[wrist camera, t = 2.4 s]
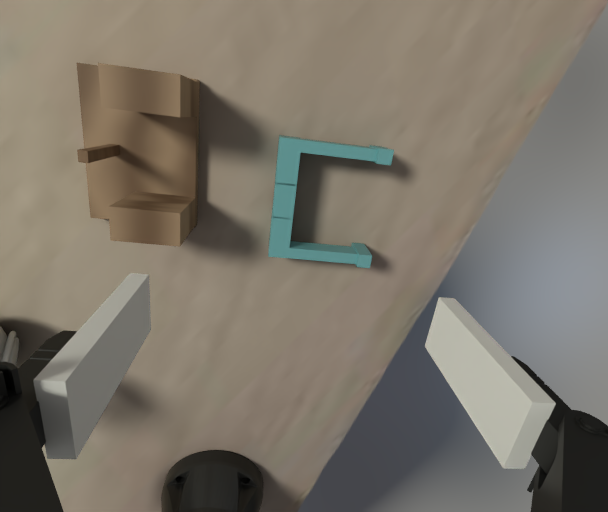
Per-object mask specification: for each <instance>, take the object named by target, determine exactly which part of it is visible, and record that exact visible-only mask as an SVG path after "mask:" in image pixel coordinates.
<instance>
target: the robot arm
mask: <svg viewBox="0 0 608 512" xmlns="http://www.w3.org/2000/svg"><path fill="white" fill-rule="evenodd" d="M150 330H151V320H150V290H149V275H148V274H135V273H130V274H129V275H128V276H127V277H126V278H125V279H124V281H123V282H122V283H121V284H120V285H119V286H118V287H117V288H116V289H115V291H114V292H113V293H112V294H111V295H110V296H109V297H108V298H107V299H106V300H105V302H104V303H103V304H102V305H101V306H100V307H99V308H98V309H97V310H96V311H95V313H94V314H93V315H92V316H91V317H90V318H89V319H88V320H87V321H86V322H85V324H84V325H83V326H82V327H81V328H80V329H79V330H78V331H62V332H60V333H58V334H57V335H55V336H53V337H51V338H49V339H48V340H47V341H46V342H45V343H44V344H43V345H42V346H41V347H40V348H39V349H38V351H36V352H35V353H34V354H33V355H32V356H31V357H30V359H29V360H27V361H26V362H25V363H24V364H23V365H22V366H21V367H20V368H19V369H18V368H17V367H16V366H15V365H14V364H12V363H9V362H5V361H3V362H0V512H63V509H62V506H61V503H60V500H59V497H58V494H57V491H56V488H55V486H54V483H53V480H52V477H51V474H50V471H49V468H48V465H47V463H46V460H45V457H44V454H43V451H42V447H43V445H44V444H45V448H46V453H47V459H77V457H78V455H79V454H80V452H81V450H82V448H83V447H84V445H85V443H86V441H87V440H88V438H89V436H90V434H91V433H92V431H93V429H94V427H95V426H96V424H97V422H98V420H99V419H100V417H101V415H102V414H103V412H104V410H105V408H106V407H107V405H108V403H109V401H110V400H111V398H112V396H113V394H114V393H115V391H116V389H117V387H118V386H119V384H120V382H121V380H122V379H123V377H124V375H125V374H126V372H127V370H128V368H129V367H130V365H131V363H132V361H133V360H134V358H135V356H136V354H137V353H138V351H139V349H140V347H141V346H142V344H143V342H144V340H145V339H146V337H147V335H148V334H149V332H150ZM425 347H426V349H427V351H428V352H429V353H430V355H431V357H432V358H433V360H434V361H435V363H436V365H437V366H438V368H439V369H440V371H441V372H442V374H443V375H444V377H445V379H446V380H447V382H448V383H449V385H450V386H451V388H452V389H453V391H454V393H455V394H456V396H457V397H458V399H459V400H460V402H461V403H462V405H463V407H464V408H465V410H466V411H467V413H468V414H469V416H470V417H471V419H472V420H473V422H474V424H475V425H476V427H477V428H478V430H479V431H480V433H481V434H482V436H483V438H484V439H485V441H486V442H487V444H488V445H489V447H490V448H491V450H492V452H493V453H494V455H495V456H496V458H497V459H498V461H499V462H500V464H501V466H502V467H503V468H510V469H512V468H514V469H525V467H526V465H527V463H528V461H529V459H530V457H531V455H532V456H533V457H534V458H535V460H536V461H537V462H538V464H539V467H538V469H537V471H536V473H535V475H534V477H533V480H532V481H531V484H530V485H529V488H528V489H527V490H528V491H529V492H532V490H533V498H532V507H531V512H608V426H607V425H606V424H604V423H603V422H602V421H600V420H599V419H597V418H595V417H593V416H592V415H590V414H587V413H584V412H581V411H577V410H571V409H570V408H569V407H568V406H567V405H566V404H565V403H564V402H563V401H562V400H561V399H560V398H559V397H558V396H557V395H556V394H555V393H554V392H553V391H552V390H551V389H550V388H549V387H548V386H547V385H545V384H544V382H543V381H542V380H541V379H540V378H539V377H537V375H536V374H535V373H534V372H533V371H532V370H531V369H530V368H529V367H528V366H527V365H526V364H524V363H523V362H521V361H520V360H518V359H517V358H515V357H513V356H510V355H508V353H507V352H506V351H505V350H504V349H503V348H502V347H501V346H500V345H499V344H498V343H497V342H496V341H495V340H494V339H493V338H492V337H491V336H490V335H489V334H488V333H487V332H486V331H485V330H484V329H483V327H481V325H480V324H479V323H478V322H477V321H476V320H475V319H474V318H473V317H472V316H471V315H470V314H469V313H468V312H467V311H466V310H465V309H464V308H463V307H462V306H461V305H460V304H459V303H458V302H457V301H456V300H455V299H454V298H442V297H439V299H438V303H437V306H436V309H435V313H434V316H433V320H432V323H431V327H430V330H429V334H428V337H427V340H426V344H425ZM533 488H534V489H533ZM262 498H263V479H262V476H261V473H260V471H259V470H258V468H257V467H256V466H255V465H254V464H253V463H252V462H251V461H249V460H248V459H246V458H244V457H242V456H240V455H237V454H235V453H231V452H226V451H204V452H199V453H195V454H192V455H189V456H187V457H185V458H183V459H181V460H180V461H179V462H177V463H176V464H175V465H174V466H173V467H172V468H171V469H170V471H169V472H168V474H167V477H166V480H165V483H164V487H163V490H162V497H161V502H162V512H259V509H260V506H261V503H262Z"/></svg>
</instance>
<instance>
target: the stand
mask: <svg viewBox="0 0 608 512" xmlns="http://www.w3.org/2000/svg"><path fill="white" fill-rule="evenodd" d="M77 71H78V82H79V93H80V104H81V115H82V126H83V138H84V149H80V150H77V151H78V162H83V163H86V171H87V182H88V193H89V204H90V215H91V218H100V219H109V224H110V238H111V240H112V241H124V242H135V243H146V244H158V245H169V246H181V244H182V243H183V242H184V240H185V239H186V237H187V236H188V235H189V233H190V232H191V230H192V229H193V228H194V227H196V225H197V199H198V145H199V91H200V81H199V80H196V79H189V78H187V77H185V76H182V75H179V74H172V73H165V72H158V71H151V70H144V69H136V68H129V67H122V66H115V65H108V64H101V63H98V66H97V65H90V64H82V63H77Z"/></svg>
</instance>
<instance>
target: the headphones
mask: <svg viewBox="0 0 608 512" xmlns="http://www.w3.org/2000/svg"><path fill="white" fill-rule="evenodd" d="M18 351H19V339H18V338H16V332H15V331H11V332H10V333H9V335H8V336H7V335H6V333H5V332H4V330H3V329H2V328H1V326H0V362H3V361H5V362H9V363H12V364H14V365H15V366H16V363H17V356H18Z"/></svg>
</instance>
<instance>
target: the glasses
mask: <svg viewBox="0 0 608 512" xmlns="http://www.w3.org/2000/svg"><path fill="white" fill-rule="evenodd" d="M300 153H309V154H317V155H326V156H334V157H342V158H350V159H359V160H367V161H372V162H374V163H376V164H383V165H391V163H392V158H393V153H394V150H392V149H388V148H385V147H380V146H372V145H370V146H369V147H364V146H356V145H349V144H341V143H333V142H325V141H317V140H309V139H301V138H297V137H289V136H282V135H279V144H278V154H277V165H276V175H275V189H274V199H273V208H272V218H271V228H270V239H269V254H268V256H269V257H281V258H292V259H304V260H315V261H327V262H338V263H350V264H356V266H357V267H363V268H370V265H371V260H372V255H371V253H370V252H369V250H368V249H367V247H366V246H365V244H361V243H352V246H351V247H349V246H338V245H327V244H316V243H306V242H295V241H290V239H291V230H292V222H293V213H294V204H295V196H296V187H297V179H298V170H299V161H300Z"/></svg>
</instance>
